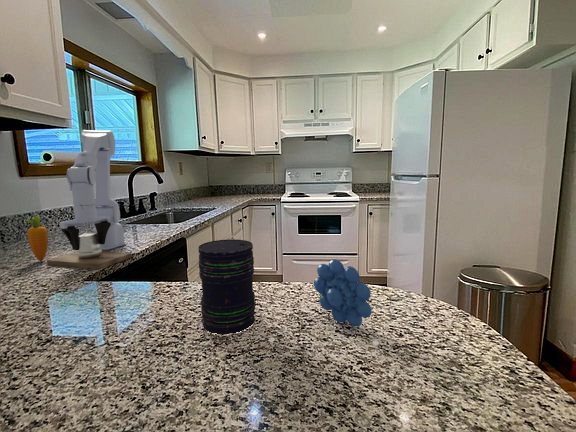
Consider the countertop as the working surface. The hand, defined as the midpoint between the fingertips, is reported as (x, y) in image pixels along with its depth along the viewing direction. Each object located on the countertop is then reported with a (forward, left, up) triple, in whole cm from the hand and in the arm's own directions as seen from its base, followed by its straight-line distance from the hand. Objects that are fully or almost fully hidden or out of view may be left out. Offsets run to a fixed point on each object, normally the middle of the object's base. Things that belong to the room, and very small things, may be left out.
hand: (89, 246), depth 97 cm
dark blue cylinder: (+26, +62, -5) cm, 68 cm away
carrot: (+4, -16, -5) cm, 17 cm away
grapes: (+22, +82, -5) cm, 85 cm away
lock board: (0, 0, -5) cm, 5 cm away
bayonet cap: (0, 0, -3) cm, 3 cm away
